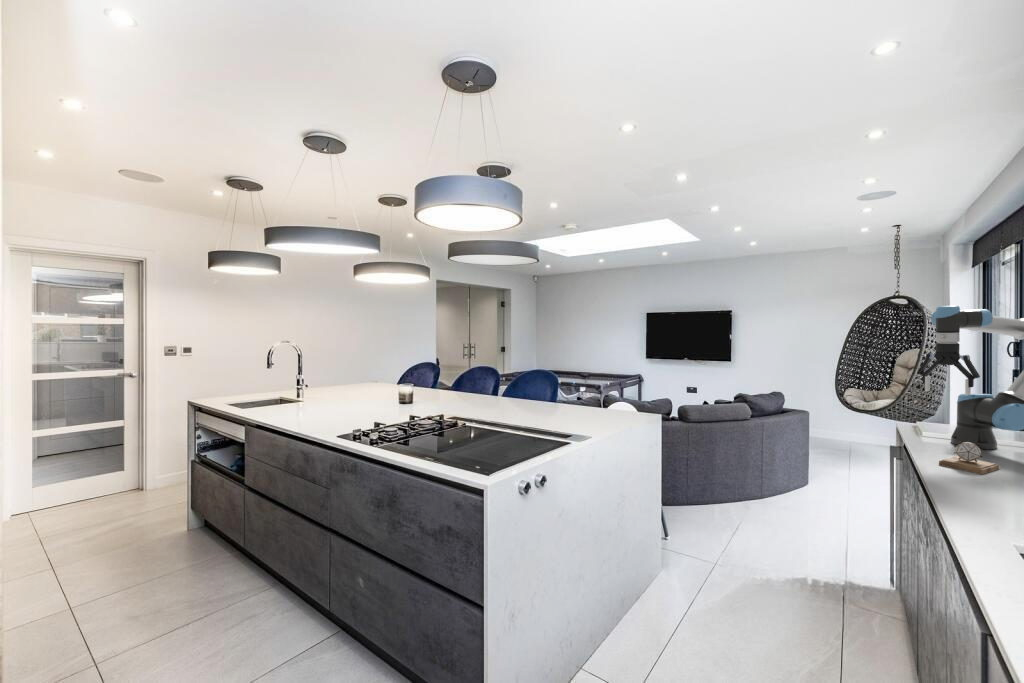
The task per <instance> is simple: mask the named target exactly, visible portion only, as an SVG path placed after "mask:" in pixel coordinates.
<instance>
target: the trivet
mask: <svg viewBox="0 0 1024 683" xmlns="http://www.w3.org/2000/svg"><path fill="white" fill-rule="evenodd" d="M959 458H960V457H959V456H958V455H956V456H952V457H948V458H944V459H941V460H939V461H938V465H939V466H942V465H943V467H947V466H948V468H951V467H952V468H951V469H957V470H960V471H965V472H969V473H973V474H979V475H983V474H988V473H990V472H994V471H997V470H999V468H1000V464H997V463H994V462H989V461H985V460H979V459H977V462H976V461H975V460H974V461H969V463H967V461H966V460H963V459H959Z"/></svg>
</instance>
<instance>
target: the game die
mask: <svg viewBox="0 0 1024 683" xmlns="http://www.w3.org/2000/svg"><path fill="white" fill-rule="evenodd" d="M967 441H968V442H963V443H961V441H959V442H960V444H959V445H953V447H954V448H955V452H953V454H954V455H955V454H956V456H959V457H960V458H959V459H963V460H966V461H967V463H969V461H974V460H975V461H976V462H977V460H979V459H980V458H984V456H983V455H982V451H984V449H980V448H979V447H978V446H977V445H978V443H976V444H973V443H971V442H969V440H967Z"/></svg>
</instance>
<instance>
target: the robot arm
mask: <svg viewBox="0 0 1024 683" xmlns="http://www.w3.org/2000/svg"><path fill="white" fill-rule="evenodd" d="M930 320H931V323H932V325H934V326H935V342H936V344H935V353H931V352H930V353H926V355H925V359H924V361H922V362H923V363H921V365H920V367H919V369H918V370H917V372H916V374H917V375H921V376H922V384H924V392H931V375H930V374H931V373H932V372H933V371H934V370H935V369H937V368H938V367H939V366H940V365H942V366H945V365H947V366H954V367H956V368H957V370H959V371H960V372H961V374H963V375H964V376H965V377H966V379H964V382H965V384H964V386H965V387H964V388H965V389H964V391H965V392H964V393H961V394H959V395H958V396H957V401H956V404H957V405H956V426H955V428H954V430H953V432H952V434H951V437H950V443H952V444H954V445H955V446H958V445H959V444H960V442H959V441H961V443H963V442H968V441H967V440H969V442H971V443H973V444H976V443H978V445H977V446H978V447H979V448H980V449H983V450H995V449H997V448H998V442H997V439H996V436H995V434H994V431H993V428H996V429H999V430H1002V431H1010V432H1011V431H1012V432H1018V431H1022V430H1024V369H1023V370H1022V371H1021V373H1020V374H1019V375H1018V376H1017V377H1016V378H1015V380H1014V381H1013V382H1012V383H1011V385H1010V386H1009V387H1008V388H1007V389H1006V390H1005V391H999V392H998V393H997V394H996V395H995V396H994V395H993V394H992V393H991V394H990V393H971V388H974V386H975V385H974V384H975V383H974V382H975V379H979V378H980V377H981V376H980V373H979V372H978V370H977V369H976V367H975V366H974V363H972V360H971V356H970V355H969V354H964V355H963V354H962V355H961V354H960V344H959V342H961V341H960V335H961V334H960V330H961V329H962V330H968V331H975V332H982V333H988V334H995V335H1002V336H1010V337H1013V339H1016V340H1021V341H1024V317H1021V318H1018V319H1017V318H1009V317H1004V316H998V315H997V316H995V315H993V314H992V312H991V311H990V310H989V309H986V308H984V309H983V308H976V309H961V308H960V306H959V305H941V306H940V305H939V306H937V307H936V309H935V311H934V312H932V314H931V318H930ZM932 359H935V362H933V363H932V365H931V366H929V364H930V363H931V361H932ZM960 359H961V360H962V361H963V362H964V364H965V366H966V367H967V369H966V367H965V366H963V364H962V363H961V362H960ZM928 366H929V367H928ZM927 367H928V368H927Z"/></svg>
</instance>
